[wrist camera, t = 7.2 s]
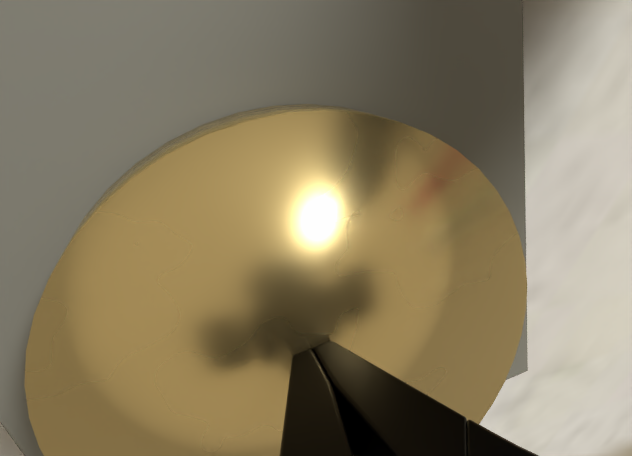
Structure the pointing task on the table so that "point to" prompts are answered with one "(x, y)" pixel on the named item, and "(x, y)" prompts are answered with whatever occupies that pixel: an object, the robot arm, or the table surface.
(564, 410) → the table surface
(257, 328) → the knob
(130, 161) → the panel
